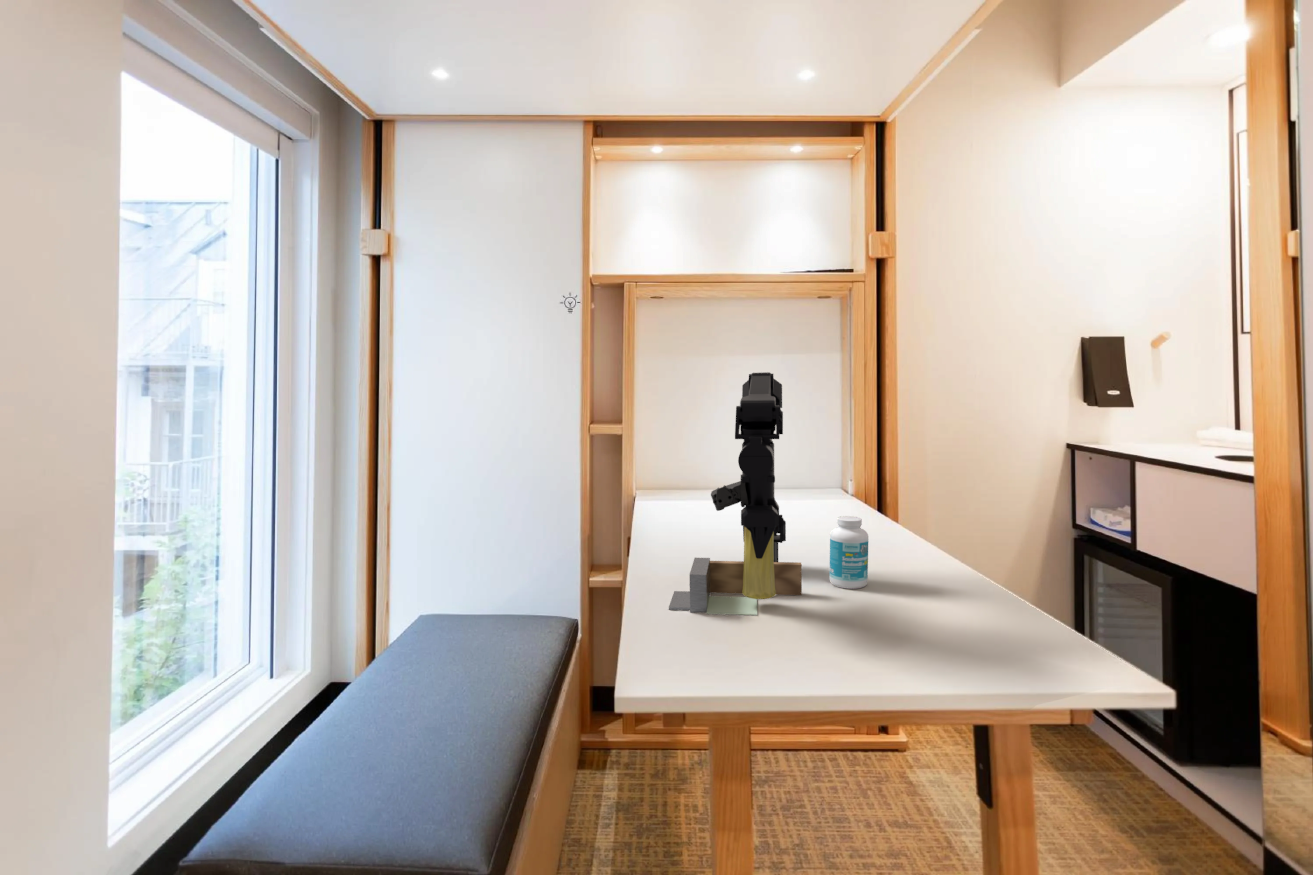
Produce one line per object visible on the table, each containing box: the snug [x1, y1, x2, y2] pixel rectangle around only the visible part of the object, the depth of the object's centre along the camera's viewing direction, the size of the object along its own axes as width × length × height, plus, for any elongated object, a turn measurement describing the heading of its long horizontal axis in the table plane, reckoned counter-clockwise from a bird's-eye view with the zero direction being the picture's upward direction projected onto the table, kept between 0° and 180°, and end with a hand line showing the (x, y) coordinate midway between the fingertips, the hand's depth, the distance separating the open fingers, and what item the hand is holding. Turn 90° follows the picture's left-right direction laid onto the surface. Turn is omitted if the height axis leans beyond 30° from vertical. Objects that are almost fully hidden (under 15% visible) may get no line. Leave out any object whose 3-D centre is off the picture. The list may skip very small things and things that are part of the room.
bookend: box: [668, 557, 711, 614], centre depth 125 cm, size 7×11×7 cm, turn 172°
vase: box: [742, 527, 776, 600], centre depth 121 cm, size 6×6×14 cm
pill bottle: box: [828, 515, 869, 590], centre depth 133 cm, size 8×7×14 cm
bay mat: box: [705, 595, 758, 616], centre depth 123 cm, size 9×9×1 cm
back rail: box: [710, 560, 803, 596], centre depth 130 cm, size 20×2×6 cm, turn 82°
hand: (758, 553), depth 121 cm, fingers closed on vase, 5 cm apart
